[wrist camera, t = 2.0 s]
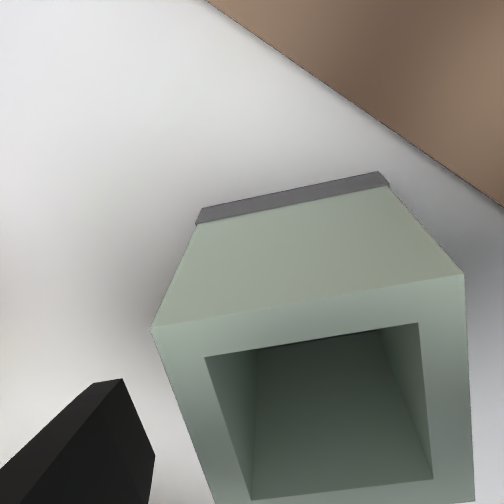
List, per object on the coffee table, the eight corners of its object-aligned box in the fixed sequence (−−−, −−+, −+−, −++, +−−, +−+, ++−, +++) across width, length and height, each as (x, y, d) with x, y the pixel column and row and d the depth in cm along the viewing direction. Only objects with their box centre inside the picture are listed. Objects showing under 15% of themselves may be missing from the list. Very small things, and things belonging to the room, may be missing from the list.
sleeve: (378, 171, 12) (467, 270, 6) (397, 324, 14) (477, 502, 8) (202, 208, 13) (145, 326, 7) (242, 350, 14) (222, 530, 9)
